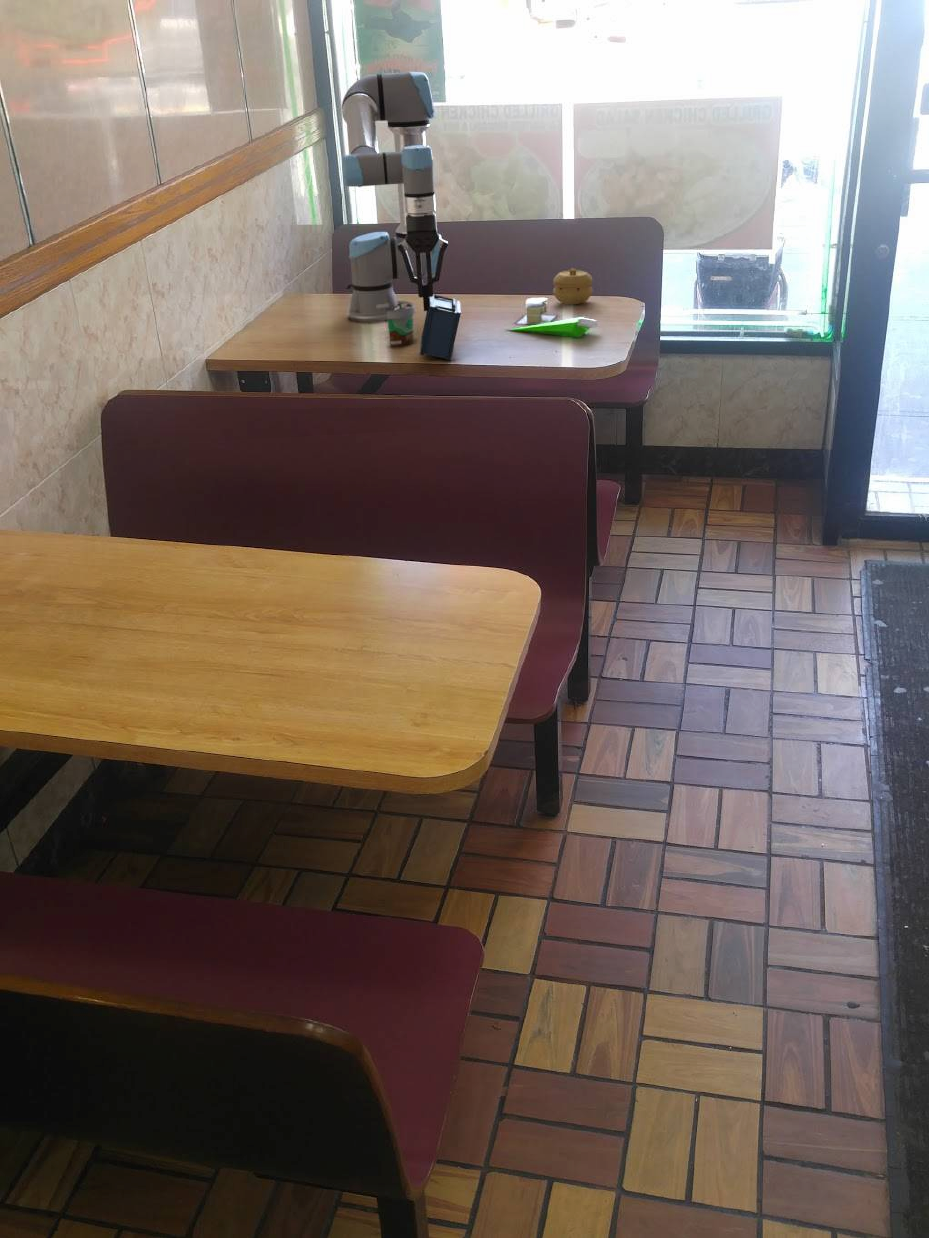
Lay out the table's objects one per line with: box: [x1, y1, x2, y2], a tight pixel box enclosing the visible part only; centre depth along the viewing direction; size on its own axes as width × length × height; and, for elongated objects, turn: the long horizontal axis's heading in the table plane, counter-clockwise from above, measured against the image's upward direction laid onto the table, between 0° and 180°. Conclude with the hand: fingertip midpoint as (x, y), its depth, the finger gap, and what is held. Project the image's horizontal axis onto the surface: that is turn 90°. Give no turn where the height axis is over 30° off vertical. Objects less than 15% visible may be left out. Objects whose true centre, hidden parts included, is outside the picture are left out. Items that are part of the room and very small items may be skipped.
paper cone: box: [509, 316, 599, 339], centre depth 308 cm, size 11×5×25 cm
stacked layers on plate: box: [516, 297, 557, 325], centre depth 321 cm, size 10×9×6 cm
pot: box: [552, 268, 594, 305], centre depth 336 cm, size 12×12×10 cm
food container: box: [387, 300, 417, 348], centre depth 306 cm, size 12×6×10 cm, turn 168°
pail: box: [419, 294, 462, 362], centre depth 292 cm, size 13×8×13 cm, turn 1°
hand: (426, 309), depth 290 cm, fingers closed
